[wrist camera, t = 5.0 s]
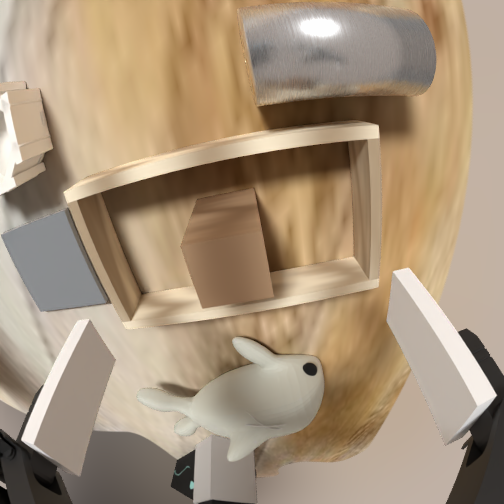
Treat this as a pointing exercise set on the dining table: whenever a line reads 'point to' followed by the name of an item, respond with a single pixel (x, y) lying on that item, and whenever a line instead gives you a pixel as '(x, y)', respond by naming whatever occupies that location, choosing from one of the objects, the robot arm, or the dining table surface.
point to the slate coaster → (54, 263)
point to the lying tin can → (334, 51)
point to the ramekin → (21, 135)
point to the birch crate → (283, 282)
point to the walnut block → (227, 250)
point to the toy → (249, 399)
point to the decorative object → (216, 474)
